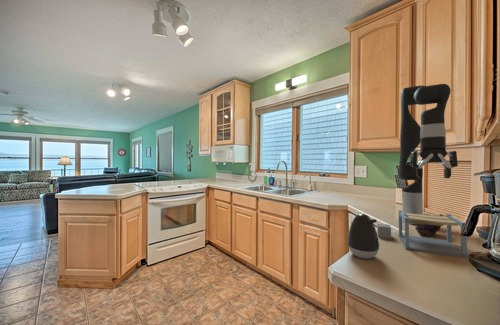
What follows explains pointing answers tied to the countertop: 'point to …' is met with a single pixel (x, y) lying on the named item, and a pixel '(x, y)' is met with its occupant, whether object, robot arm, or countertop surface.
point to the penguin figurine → (363, 237)
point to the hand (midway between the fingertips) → (433, 178)
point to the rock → (427, 229)
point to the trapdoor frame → (433, 240)
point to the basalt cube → (384, 231)
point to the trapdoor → (430, 219)
